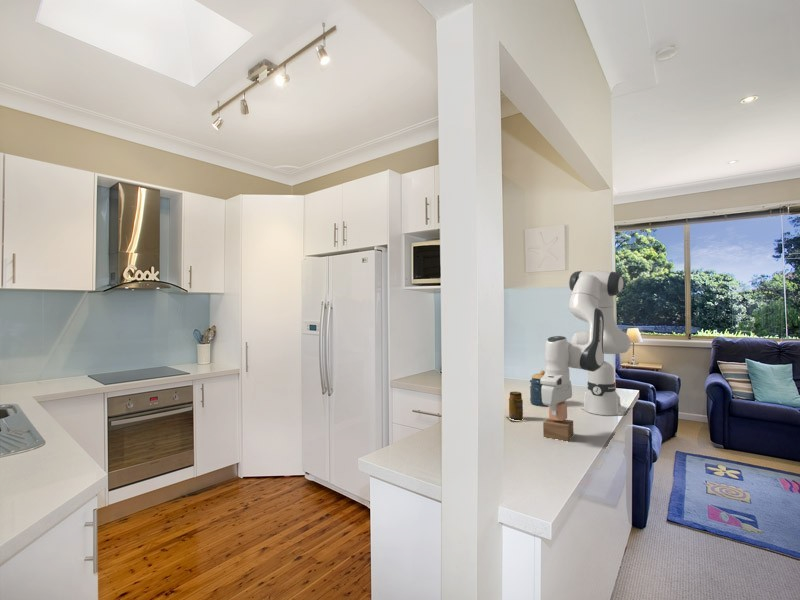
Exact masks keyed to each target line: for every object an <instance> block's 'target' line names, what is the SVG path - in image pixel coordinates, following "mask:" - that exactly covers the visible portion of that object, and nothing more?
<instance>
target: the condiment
mask: <svg viewBox="0 0 800 600" xmlns="http://www.w3.org/2000/svg"><path fill="white" fill-rule="evenodd" d="M522 394H523V393H522V392H521V391H510V392H509V399H508V413H509V415H508V416H509V418H511V419H514V420H522V419H523V418H524V408H523V405H524V403H523V402H524V401H523V400H524V399H523V398H522V397H523V396H522ZM522 422H527V420H526V419H525V418H524V419H523V420H522V421H520V422H519V423H522Z"/></svg>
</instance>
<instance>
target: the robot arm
mask: <svg viewBox="0 0 800 600" xmlns="http://www.w3.org/2000/svg"><path fill="white" fill-rule="evenodd" d="M568 283H569V284H568V285H569V289H570V291H571V293H570V294H571V295H570V298H569V300H568V308H569V311H570V313H571V314H572V315H573V316H574V317H576V318H577V319H579V320H580V321H583V322H586V323H588V324H589V330H583V331H577V332H575V333H574V334H572V337H571V339H570V341H568V339H567V337H566V336H562V335H556V336H550V337H548V338H547V339H546V341H545V346H544V347H545V348H544V359H545V360H544V361H545V364H546V365H545V369H544V371H545V374H544V376H543V377H542V378H541V379H540V383H541V384H543V385H542V388H541V393H542V402H543V404H544V405H548V406H547V407H549V406H550V408H551V410H552V415H557V414H558V410H557V409H556V406H557V404H558V403H560V402H564V403H567V400H569V399H571V398H572V396H573V388H572V382H571V380H570V369H571V368H572V369H576V370H577V369H578V370H583V371H587V377H588V379H587V380H588V381H587V383H586V384H587V385H586V387H587V390H586V391H585V392H584V405H582V406H581V410H584V411H585V412H587V413H589V414H593V415H601V416H624V415H625V412H626V409H627V408H626V406H624V405H621V397H620V396H619V394H618V392H617V389H616V388H617V382H615V376H614V375H615V374H614V373H615V372H614V367H613V365H612V364H611V363H610V362H607V361H605V355H618V354H625V353H627V352H628V351H629V350H630V349H631V346H632V345H631V344H632V343H631V339H630V337H629V335H628V334H627V333H626V332H624V331H622V329H620V328H619V326H618V325H617V323H616V321H615V309H614V308H615V300H614V297H615V296H617V295H619V294H621V292H622V290H623V288H624V279H623V275H621V273H619V272H615V271H611V272H610V271H604V270H585V271H582V270H577V271H574V272H573V273H572V274H571V275H570V277H569V281H568Z"/></svg>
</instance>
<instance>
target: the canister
mask: <svg viewBox="0 0 800 600" xmlns="http://www.w3.org/2000/svg"><path fill="white" fill-rule="evenodd" d="M544 374H545V370H540V371H539V373H534V374H532V375H531V376H530V377H531V379H530V380H529V382H530V386H529V391H530V392H529V393H530V397H529V401H530V404H532V405H534V406H537V407H549V406H548V405H544V404H543V402H542V393H541V388H542V385H543V384H541V383H540V379H541V378H542V377H543V376H544Z"/></svg>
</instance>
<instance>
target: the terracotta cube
mask: <svg viewBox="0 0 800 600" xmlns="http://www.w3.org/2000/svg"><path fill="white" fill-rule="evenodd" d="M556 409H557V410H558V414H557V415H552V410H551V408H550V406H548V414H549V415H548V418H549V419H554V420H560V421H563V420H568V403H567V402H566V403H564V402H560V403H558V404H557V406H556Z"/></svg>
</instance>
